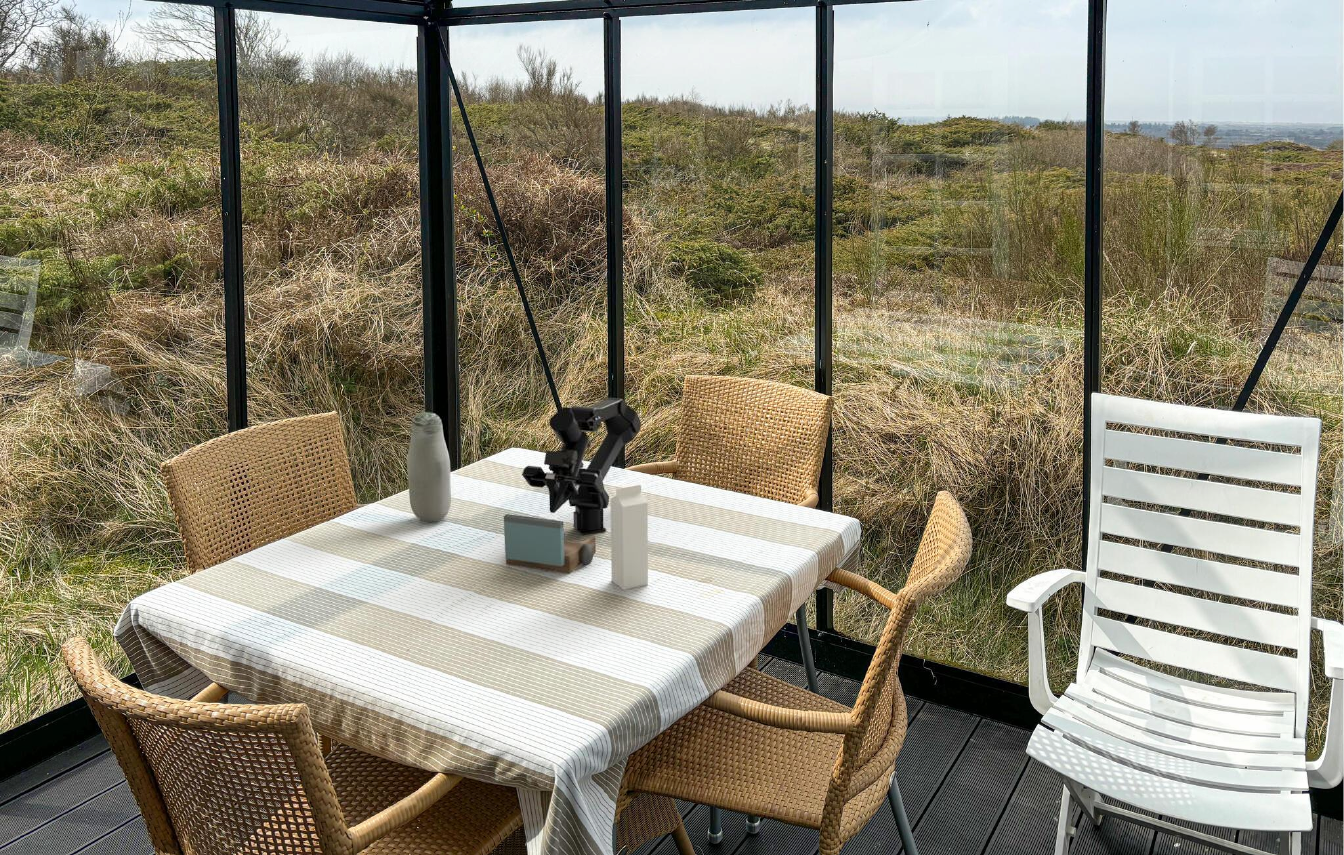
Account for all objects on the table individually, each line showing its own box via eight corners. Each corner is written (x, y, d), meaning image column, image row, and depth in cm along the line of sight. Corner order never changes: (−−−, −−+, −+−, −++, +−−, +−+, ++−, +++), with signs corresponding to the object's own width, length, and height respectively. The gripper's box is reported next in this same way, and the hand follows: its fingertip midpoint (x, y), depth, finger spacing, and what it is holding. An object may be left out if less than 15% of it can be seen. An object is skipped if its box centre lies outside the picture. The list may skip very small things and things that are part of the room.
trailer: (528, 543, 275) (527, 525, 274) (602, 553, 269) (602, 535, 268) (499, 563, 263) (498, 545, 262) (576, 574, 256) (576, 555, 255)
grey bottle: (403, 522, 290) (396, 414, 283) (433, 511, 298) (427, 406, 291) (430, 529, 285) (424, 419, 278) (460, 518, 293) (455, 411, 286)
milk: (648, 585, 250) (648, 488, 245) (623, 590, 248) (622, 492, 242) (635, 575, 256) (635, 480, 250) (610, 580, 253) (610, 484, 247)
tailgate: (508, 555, 261) (507, 514, 258) (564, 563, 256) (563, 521, 254) (505, 558, 259) (503, 516, 257) (561, 566, 255) (560, 523, 252)
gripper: (524, 432, 268) (502, 490, 260) (597, 439, 261) (577, 499, 254) (540, 456, 277) (520, 513, 270) (612, 464, 270) (593, 523, 263)
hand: (551, 512), depth 264 cm, fingers closed
